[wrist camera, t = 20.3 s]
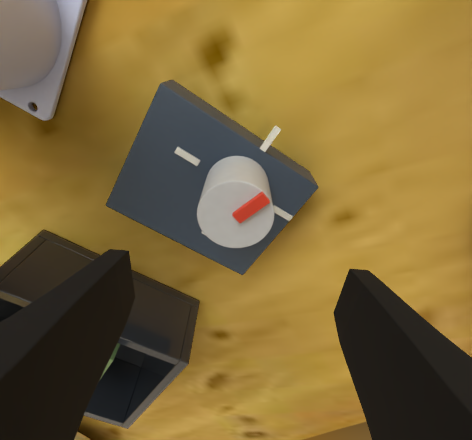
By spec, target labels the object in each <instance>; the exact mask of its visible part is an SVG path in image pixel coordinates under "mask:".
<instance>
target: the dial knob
mask: <svg viewBox="0 0 472 440" xmlns="http://www.w3.org/2000/svg"><path fill="white" fill-rule="evenodd" d="M197 219H198V223H199V226H200V228H201V230H202V231H203V233H204V234H205V235H206V236H207V237H208V238H209V239H210V240H212V241H213V242H215V243H217V244H219V245H221V246H224V247H229V248H243V247H248V246H251V245H253V244H256V243H257V242H259V241H260V240H262V239H263V238H264V237H265V236H266V235H267V234H268V232H269V231H270V229H271V227H272V225H273V221H274V208H273V203H272V198H271V192H270V187H269V182H268V178H267V175H266V173H265V171H264V169H263V168H262V167H261V166H260V165H259V164H258V163H257V162H256V161H254V160H252V159H250V158H247V157H244V156H230V157H226V158H224V159H222V160H220V161H218V162H217V163H216V164H215V165H213V167H212V168H211V169H210V171H209V172H208V175H207V178H206V181H205V184H204V187H203V191H202V194H201V197H200V201H199V204H198V208H197Z"/></svg>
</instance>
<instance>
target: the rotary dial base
mask: <svg viewBox="0 0 472 440" xmlns="http://www.w3.org/2000/svg"><path fill="white" fill-rule="evenodd" d="M280 130H281V129H280V128H278V127H277V126H276V125H275V126H274V128H273V129H272V131H271V132H270V133H269V135H268V136H267V138H266V139H265V141H263V140H262V139H260V138H259V137H257V136H256V135H254V134H253V133H251V132H250V131H248V130H247V129H245V128H244V127H242V126H241V125H239V124H238V123H236V122H235V121H233V120H232V119H230V118H229V117H227V116H226V115H224V114H223V113H221V112H220V111H218V110H217V109H216V108H214V107H213V106H211V105H210V104H208V103H207V102H205V101H204V100H202V99H201V98H199V97H198V96H196V95H195V94H193V93H192V92H190V91H189V90H187V89H186V88H184V87H183V86H181V85H180V84H178V83H177V82H175V81H174V80H169V81H166V82H163V83H161V84H160V85H159V87H158V90H157V92H156V94H155V96H154V99H153V101H152V103H151V105H150V107H149V110H148V112H147V114H146V116H145V119H144V121H143V123H142V125H141V127H140V130H139V132H138V134H137V136H136V138H135V141H134V143H133V145H132V147H131V150H130V152H129V154H128V156H127V158H126V161H125V163H124V165H123V167H122V170H121V172H120V174H119V176H118V178H117V181H116V183H115V185H114V187H113V190H112V192H111V194H110V196H109V198H108V201H107V203H106V206H107V207H109V208H111V209H113V210H115V211H117V212H119V213H121V214H123V215H125V216H127V217H129V218H131V219H133V220H135V221H137V222H139V223H141V224H143V225H145V226H147V227H149V228H151V229H153V230H155V231H157V232H158V233H160V234H162V235H164V236H166V237H168V238H170V239H172V240H174V241H176V242H178V243H180V244H182V245H184V246H186V247H188V248H190V249H192V250H194V251H196V252H198V253H200V254H202V255H204V256H206V257H208V258H210V259H212V260H214V261H216V262H218V263H220V264H221V265H223V266H225V267H227V268H229V269H231V270H233V271H235V272H237V273H239V274H241V275H243V274H244V273H245V272H246V271H247V270H248V268H249V267H250V266H251V265H252V264H253V263H254V261H255V260H256V259H257V258H258V257H259V256H260V255H261V253H262V252H263V251H264V250H265V249H266V248H267V246H268V245H269V244H270V243H271V242H272V241H273V239H274V238H275V237H276V236H277V235H278V234H279V233H280V231H281V230H282V229H283V228H284V227H285V226H286V224H287V223H288V222H289V221H290V220H291V219H292V218H293V216H294V215H295V214H296V213H297V212H298V211H299V209H300V208H301V207H302V206H303V205H304V204H305V202H306V201H307V200H308V199H309V198H310V197H311V196H312V194H313V193H314V192H315V191H316V190H317V189H318V185H317V183H316V182H315V180H314V178H313V176H312V175H311V173H310V171H308V170H307V169H305V168H304V167H302V166H301V165H299V164H298V163H296V162H295V161H293V160H292V159H290V158H289V157H287V156H286V155H284V154H283V153H281V152H280V151H278V150H277V149H275V148H274V147H272V146H271V143H272V142H273V140H274V139H275V138H276V136H277V135H278V133H279V132H280ZM230 156H244V157H247V158H250V159H252V160H254V161H256V162H257V163H258V164H259V165H260V166H261V167H262V168H263V169H264V171H265V173H266V175H267V178H268V182H269V187H270V192H271V198H272V203H273V208H274V221H273V225H272V227H271V229H270V231H269V232H268V234H267V235H266V236H265V237H264V238H263V239H262V240H260V241H259V242H257V243H256V244H253V245H251V246H248V247H243V248H229V247H224V246H221V245H219V244H217V243H215V242H213V241H212V240H210V239H209V238H208V237H207V236H206V235H205V234H204V233H203V231H202V230H201V228H200V226H199V223H198V219H197V208H198V204H199V201H200V197H201V194H202V191H203V187H204V184H205V181H206V178H207V175H208V172H209V171H210V169H211V168H212V167H213V165H215V164H216V163H217V162H218V161H220V160H222V159H224V158H226V157H230Z"/></svg>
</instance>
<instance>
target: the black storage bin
mask: <svg viewBox="0 0 472 440" xmlns="http://www.w3.org/2000/svg"><path fill="white" fill-rule="evenodd" d="M99 256H100V255H98V254H96V253H94V252H91V251H89V250H87V249H85V248H83V247H80V246H78V245H76V244H74V243H72V242H70V241H67V240H65V239H63V238H61V237H59V236H56V235H54V234H52V233H50V232H48V231H46V230H42V231H41V232H40V233H39V234H38V235H37V236H35V237H34V238H33V239H32V240H31V241H30V242H28V243H27V244H26V245H25V246H24V247H23V248H21V249H20V250H19V251H18V252H17V253H16V254H14V255H13V256H12V257H11V258H10V259H9V260H8V261H6V262H5V263H4V264H3V265H2V266H1V267H0V322H1V321H3V320H5V319H6V318H8V317H10V316H11V315H13V314H15V313H16V312H18V311H19V310H21V309H22V308H24V307H26V306H27V305H29V304H30V303H32V302H33V301H35V300H37V299H38V298H40V297H41V296H43V295H44V294H46V293H47V292H49V291H51V290H52V289H53V288H55V287H56V286H58V285H59V284H61V283H62V282H64V281H65V280H66V279H68V278H69V277H71V276H72V275H74V274H75V273H77V272H78V271H79V270H81V269H82V268H84V267H85V266H86V265H88V264H89V263H91V262H92V261H93V260H95V259H96V258H98V257H99ZM132 277H133V284H134V291H135V299H134V302H133V305H132V309H131V312H130V315H129V317H128V320H127V323H126V326H125V328H124V330H123V332H122V335H121V337H120V339H119V341H118V343H119V344H120V346H119V348H118V351H117V353H116V355H115V358H114V360H113V362H112V363H111V364H110V366H109V367H108V369H107V370H106V372H105V373H104V375H103V376H102V378H101V379H100V380H99V382H98V384H97V386H96V389H95V391H94V393H93V395H92V397H91V399H90V401H89V404H88V406H87V408H86V411H85V413H84V416H87V417H90V418H94V419H97V420H100V421H104V422H107V423H110V424H113V425H117V426H121V427H124V428H127V429H128V428H129V427H130V426H131V425H132V424H133V423H134V422H135V421H136V419H137V418H138V417H139V416H140V415H141V414H142V413H143V412H144V411H145V410H146V409H147V408H148V407H149V406H150V405H151V403H152V402H153V401H154V400H155V399H156V398H157V397H158V396H159V395H160V394H161V393H162V392H163V391H164V390H165V388H166V387H167V386H168V385H169V384H170V383H171V382H172V381H173V380H174V379H175V378H176V377H177V376H178V375H179V374H180V372H181V371H182V370H183V369H184V368H185V367H186V366H187V365H188V364H189V359H190V353H191V348H192V342H193V336H194V331H195V325H196V320H197V314H198V308H199V301H198V300H196V299H194V298H192V297H190V296H187V295H185V294H183V293H181V292H179V291H177V290H174V289H172V288H170V287H168V286H166V285H163V284H161V283H159V282H157V281H155V280H153V279H150V278H148V277H146V276H144V275H142V274H139V273H137V272H135V271H133V270H132Z"/></svg>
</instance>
